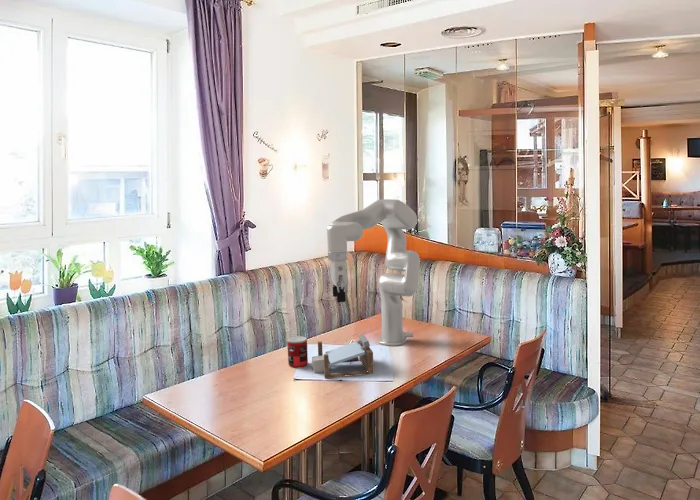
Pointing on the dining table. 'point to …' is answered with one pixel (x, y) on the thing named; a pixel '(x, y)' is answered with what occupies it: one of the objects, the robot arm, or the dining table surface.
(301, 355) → the canned food
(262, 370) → the dining table surface
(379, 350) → the dining table surface
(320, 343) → the frame
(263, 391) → the dining table surface
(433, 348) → the dining table surface
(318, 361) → the light grey block
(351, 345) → the trapdoor
